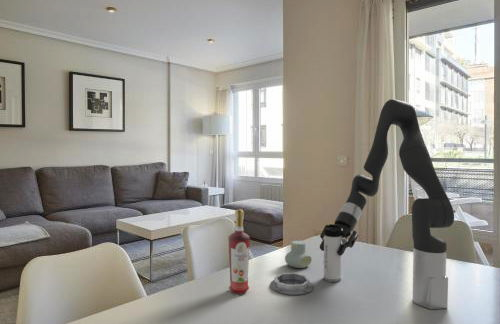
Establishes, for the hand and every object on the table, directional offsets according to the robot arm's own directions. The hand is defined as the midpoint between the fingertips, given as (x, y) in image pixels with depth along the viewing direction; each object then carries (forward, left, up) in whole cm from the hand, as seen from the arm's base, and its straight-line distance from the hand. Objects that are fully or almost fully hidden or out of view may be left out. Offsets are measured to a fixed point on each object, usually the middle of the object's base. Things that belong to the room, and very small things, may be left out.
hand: (329, 252), depth 127 cm
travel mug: (+1, -1, -11) cm, 11 cm away
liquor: (-4, +35, -11) cm, 37 cm away
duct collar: (-3, +16, -10) cm, 19 cm away
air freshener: (+17, +7, -11) cm, 21 cm away
